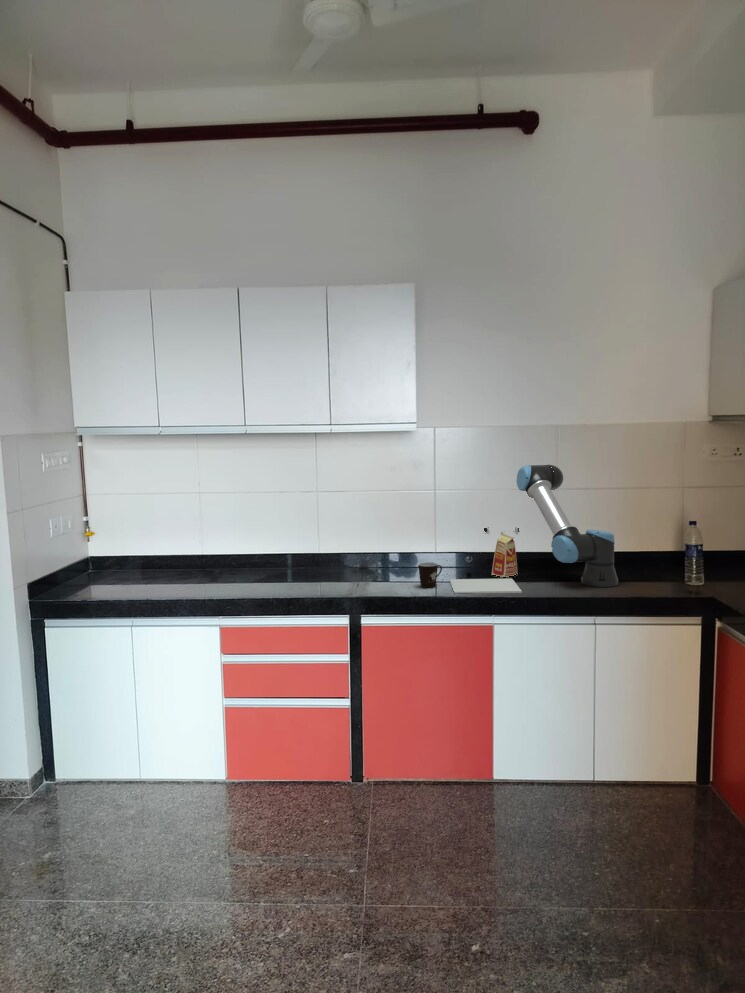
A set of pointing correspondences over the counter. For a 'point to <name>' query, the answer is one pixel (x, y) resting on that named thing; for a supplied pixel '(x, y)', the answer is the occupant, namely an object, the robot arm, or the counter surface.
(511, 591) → the mat
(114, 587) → the counter surface
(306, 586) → the counter surface
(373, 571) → the counter surface
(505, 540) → the milk carton
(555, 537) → the robot arm
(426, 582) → the coffee mug
